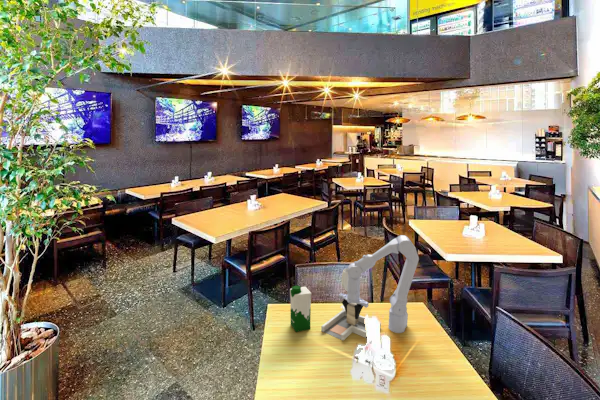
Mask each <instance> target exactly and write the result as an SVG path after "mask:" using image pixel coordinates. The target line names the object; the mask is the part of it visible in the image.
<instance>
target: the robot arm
mask: <svg viewBox="0 0 600 400" xmlns="http://www.w3.org/2000/svg"><path fill="white" fill-rule="evenodd" d="M391 253H392V254H396V255H398V254H399V253H401V254H402V255H404V257H405V258H406V259H405V262H404V264H403V267H402V271H401V275H400V277H399V280H398V284H397V286H396V289H395V290H394V291H393V294H392V295H391V296H390V297H389V304H390V307H389V310H388V311H389V313H388V329H389V330H390V331H391V332H393V333H396V334H402V333H404V332H405V331H406V328H407V327H408V316H409V314H408V308H407V304H408V294H409V291H410V289H411V286H412V282H413V279H414V276H415V273H416V270H417V267H418V264H419V260H420V257H419V255H418V252H417V248H416V246H415V245H414V244H413V242H412V241H411V239H410V238H409V237H408V236H407V235H404V234H400V235H398V236H397V237H395V238H393V239H392V240H390V241H389V242H388V243H385V245H384V246H382V247H381V248H379V249H378V250H376V251H375V252H374V253H372V254H369V253H368V254H363V255H362V257H361V258H360V259H358V260H357V261H353V262H352V263H349V265H348V267H347V268H348V285H347V291H346V293H342V292H340V293H339V294H338V299H342V300H343V301H342V302H341V303H342V305H344V308H345V310H346V315H347V305H348V304H349V303H356V304H357V305H355V306H354V308H355V319H358V318H359V315H360V314H361V311H362V309H363V308H365V309H366V308H368V307H369V302H368V301H366V300H364V299H363V298H361V296H360V295H361V294H360V293H361V276H362V274H363V273H365V272H367V271H368V270H370V269H372V268H374V267H375V265H376V263H377V261H379V260H381V259H382V258H384V257H386V256H388V255H389V254H391Z"/></svg>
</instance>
